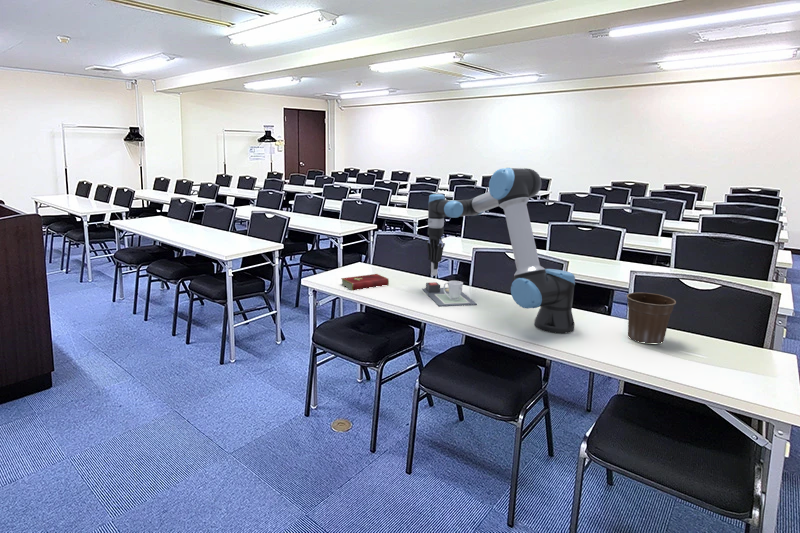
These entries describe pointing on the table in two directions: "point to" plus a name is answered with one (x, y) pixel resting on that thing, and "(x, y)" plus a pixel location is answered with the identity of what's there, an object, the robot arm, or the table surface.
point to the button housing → (432, 288)
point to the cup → (454, 289)
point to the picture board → (443, 300)
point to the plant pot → (648, 316)
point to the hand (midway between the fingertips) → (434, 275)
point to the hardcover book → (364, 281)
